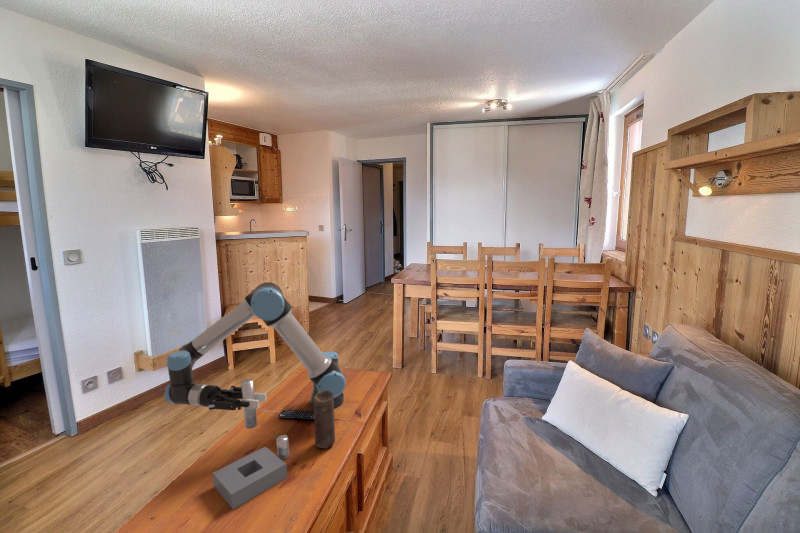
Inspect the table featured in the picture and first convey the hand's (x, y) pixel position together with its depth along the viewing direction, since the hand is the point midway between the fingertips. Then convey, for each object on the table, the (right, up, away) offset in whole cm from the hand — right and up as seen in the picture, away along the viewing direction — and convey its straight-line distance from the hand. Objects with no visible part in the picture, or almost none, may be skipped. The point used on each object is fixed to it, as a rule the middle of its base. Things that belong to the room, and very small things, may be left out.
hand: (262, 400), depth 135 cm
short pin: (+7, -21, +2) cm, 22 cm away
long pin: (-5, -10, +3) cm, 11 cm away
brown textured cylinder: (+21, -20, +8) cm, 30 cm away
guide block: (0, -23, -11) cm, 25 cm away
